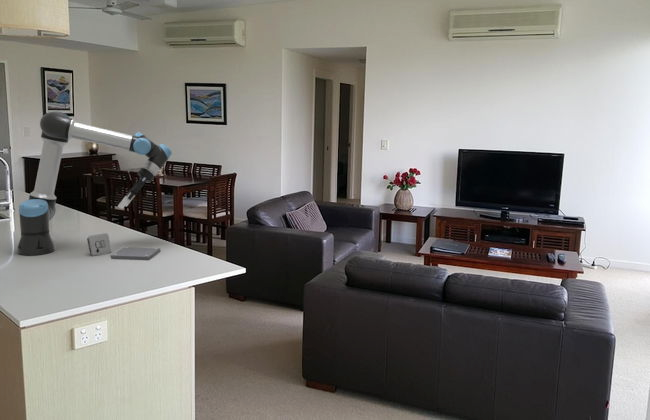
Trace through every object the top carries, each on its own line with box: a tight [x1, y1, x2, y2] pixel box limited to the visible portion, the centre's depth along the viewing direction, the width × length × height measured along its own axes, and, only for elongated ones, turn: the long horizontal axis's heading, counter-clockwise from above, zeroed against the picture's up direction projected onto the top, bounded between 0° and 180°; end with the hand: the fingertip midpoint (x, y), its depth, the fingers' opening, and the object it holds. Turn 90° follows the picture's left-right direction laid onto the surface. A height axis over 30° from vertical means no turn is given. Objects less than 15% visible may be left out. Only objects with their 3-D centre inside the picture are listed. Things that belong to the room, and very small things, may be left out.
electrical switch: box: [86, 232, 112, 257], centre depth 255 cm, size 9×5×9 cm, turn 141°
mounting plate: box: [110, 246, 161, 261], centre depth 255 cm, size 17×16×2 cm
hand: (121, 206), depth 266 cm, fingers open, 13 cm apart
